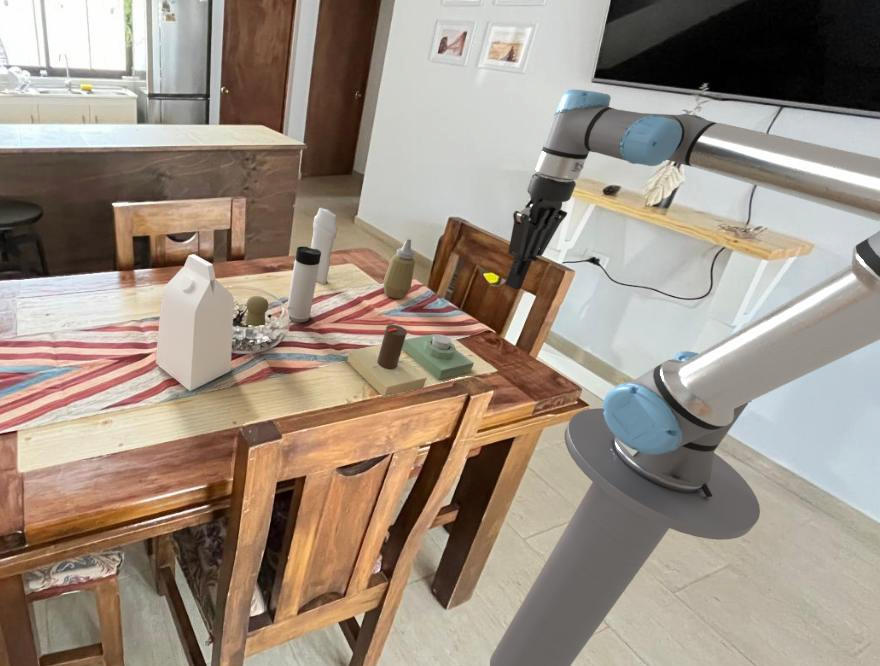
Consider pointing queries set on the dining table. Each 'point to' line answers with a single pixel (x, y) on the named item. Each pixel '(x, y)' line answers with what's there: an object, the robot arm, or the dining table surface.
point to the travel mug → (303, 283)
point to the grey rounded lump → (441, 342)
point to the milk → (195, 325)
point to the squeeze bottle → (400, 272)
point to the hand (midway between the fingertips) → (512, 286)
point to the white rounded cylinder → (324, 240)
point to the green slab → (437, 357)
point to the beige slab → (385, 372)
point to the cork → (256, 310)
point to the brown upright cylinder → (391, 346)
